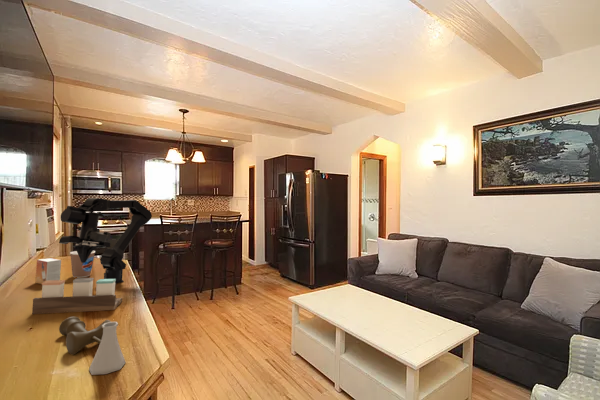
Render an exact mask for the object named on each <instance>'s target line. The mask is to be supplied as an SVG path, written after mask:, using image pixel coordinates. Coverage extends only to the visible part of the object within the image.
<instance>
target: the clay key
mask: <svg viewBox="0 0 600 400" xmlns="http://www.w3.org/2000/svg"><path fill="white" fill-rule="evenodd" d="M65 282H66V279H60V280H48V281H45V282H43V283H42V284H41V288H42V289H41V298H47V297H65V296H64V295H65V294H64V291H65Z"/></svg>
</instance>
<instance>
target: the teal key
mask: <svg viewBox="0 0 600 400" xmlns="http://www.w3.org/2000/svg"><path fill="white" fill-rule="evenodd" d="M115 281H116V279H104V278H100V279H97V281H95V284H96V289H95V296H98V295H116V294H115V293H116V283H115Z"/></svg>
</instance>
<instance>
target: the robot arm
mask: <svg viewBox="0 0 600 400" xmlns="http://www.w3.org/2000/svg"><path fill="white" fill-rule="evenodd" d="M110 209H128V210H129V213H131V215H132V216H131V217H130V218H131V221H130V223H129V225H128V226H127V228H126V229H125V230H124V232H123V233H122V234H121V236H120V237H119V238H118V240H117V241H116V243H115V244H114V246H113V247H111V242H110V238H111V232H109V231H104V232H100V228H98V227H99V221H100V220H99V219H101V218H105V214H103V213H102V212H103V211H107V210H110ZM152 217H153V215H152V212H151V211H150V210H149V209H148V208H146V206H144V205H143V204H142V203H140V202H139V200H137V199H113V200H110V199H106V198H100V197H88V198H86V200H85V201H84V202H83V203H81V205H80V206H78V207H75V206H74V205H73V206H72V205H67V206H66V208H65V209H64V210H63V211H62V213H61V214H60V221H61V222H62V223H68V224H73V225H81V226H80V227H78V229H77V231H80V232H79V236H78V235H77V236H76V235H65V236H64V235H63V236H61V237H60V239H59V242H58V243H59V244H60V245H61V244H62V245H63V244H64V245H68V244H69V243H74V244H75V245H72V247H73V248H74V249H75V251H77V253H78V255H79V258H80V260H81V263H85V262H86V260H87V259H88V257H89V255H90V254H91V252H92V251H95V249H98V248H99V249H100V248H101V249H102V248H105V249H104V252H103V253H102V254H100V256H101V257H100V258H99V262H100V265H101V266H102V268H103V269H104V273H103V279H116V281H115V284H117V283H124V282H125V281H124V280H123V271H124V270H125V269H126V268H127V264H126V263H125V262H124V261H123V259H124V255H125V254H124V253H125V250H126V249H127V248H128V246H129V245H130V243H131V242H132V240H133V239H134V237H135V236H136V235H137V233H138V232H139V230H140V229H141V227H143V226H145V225H146V224H147V223H148V222H149V221H150V220H151V219H152Z"/></svg>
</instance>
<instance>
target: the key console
mask: <svg viewBox="0 0 600 400" xmlns="http://www.w3.org/2000/svg"><path fill="white" fill-rule="evenodd" d="M122 302H123V297H117V295H116V294H115V295H98V296H96V295H92V296H73V295H72V296H64V297H47V298H42V297H34V298H33V299H32V308H31V310H32V312H31V313H32V315H37V314H38V315H40V314H42V315H43V314H56V313H59V314H61V313H77V312H79V313H80V312H96V311H97V312H98V311H113V310H114V311H115V309H116V308H117V307H119V306H120V304H121V303H122Z"/></svg>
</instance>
